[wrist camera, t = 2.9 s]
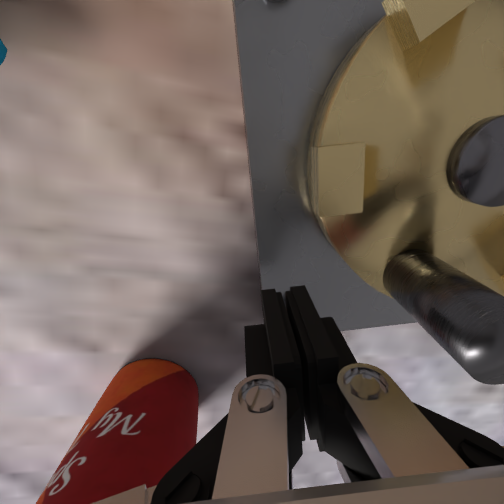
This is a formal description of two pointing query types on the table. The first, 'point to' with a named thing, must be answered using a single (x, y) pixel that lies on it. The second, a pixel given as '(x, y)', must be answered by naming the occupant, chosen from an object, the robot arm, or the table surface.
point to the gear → (2, 52)
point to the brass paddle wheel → (422, 170)
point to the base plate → (300, 148)
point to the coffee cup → (129, 434)
